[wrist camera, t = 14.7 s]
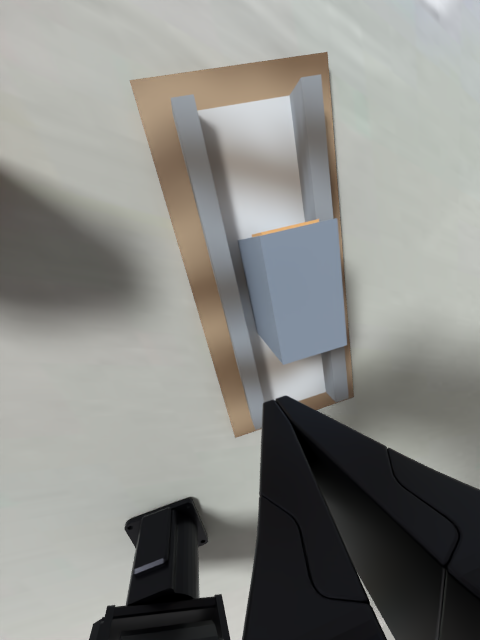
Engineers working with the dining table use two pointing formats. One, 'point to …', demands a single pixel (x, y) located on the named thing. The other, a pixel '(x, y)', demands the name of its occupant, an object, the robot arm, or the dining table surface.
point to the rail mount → (247, 208)
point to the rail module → (296, 288)
